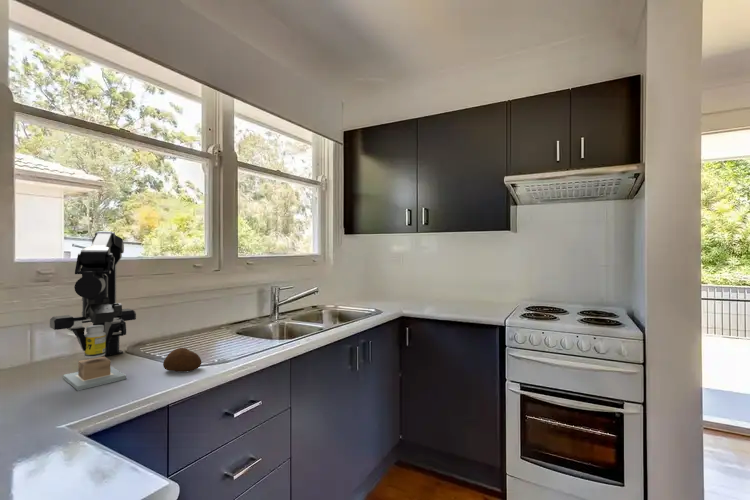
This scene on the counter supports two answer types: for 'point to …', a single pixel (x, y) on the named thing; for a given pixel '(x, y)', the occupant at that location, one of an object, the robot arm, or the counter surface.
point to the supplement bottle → (95, 341)
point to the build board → (93, 379)
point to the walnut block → (94, 368)
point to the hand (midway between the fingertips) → (95, 348)
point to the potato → (182, 360)
